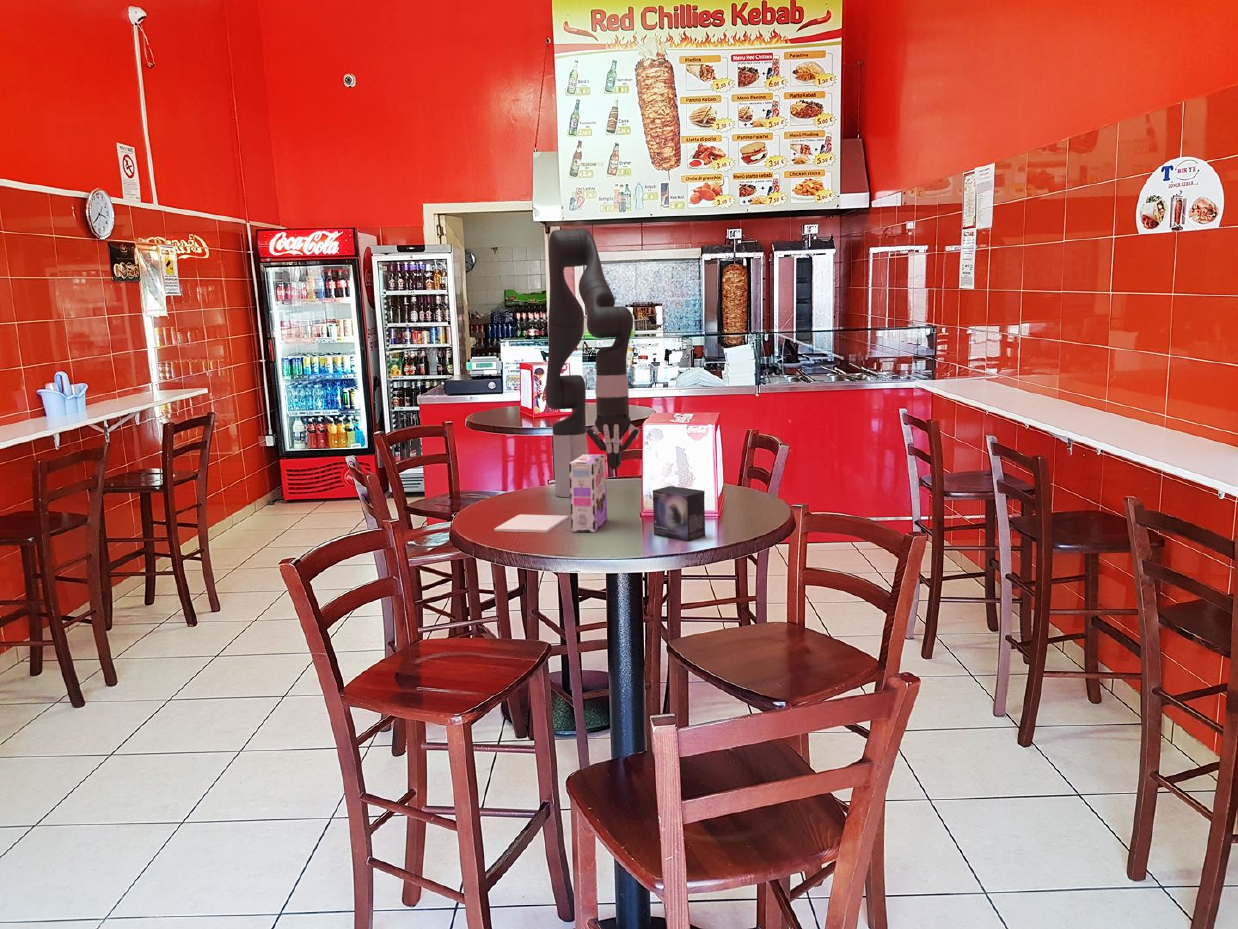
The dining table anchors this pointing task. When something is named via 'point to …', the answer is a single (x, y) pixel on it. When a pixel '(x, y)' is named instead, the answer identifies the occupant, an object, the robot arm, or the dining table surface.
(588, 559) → the dining table surface
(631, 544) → the dining table surface
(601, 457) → the candy box
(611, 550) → the dining table surface
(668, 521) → the small box
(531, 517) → the mat
